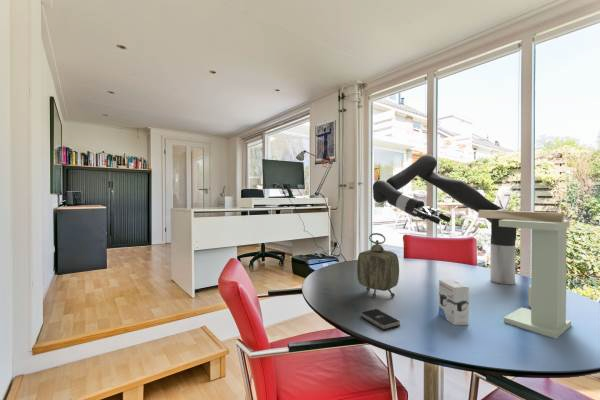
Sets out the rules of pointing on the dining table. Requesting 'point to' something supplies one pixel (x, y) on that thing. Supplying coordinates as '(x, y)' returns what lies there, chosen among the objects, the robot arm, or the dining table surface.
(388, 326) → the external hard drive
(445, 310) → the ink box
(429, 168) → the robot arm
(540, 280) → the shelf stand
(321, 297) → the dining table surface
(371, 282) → the tabletop clock
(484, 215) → the ash rod
